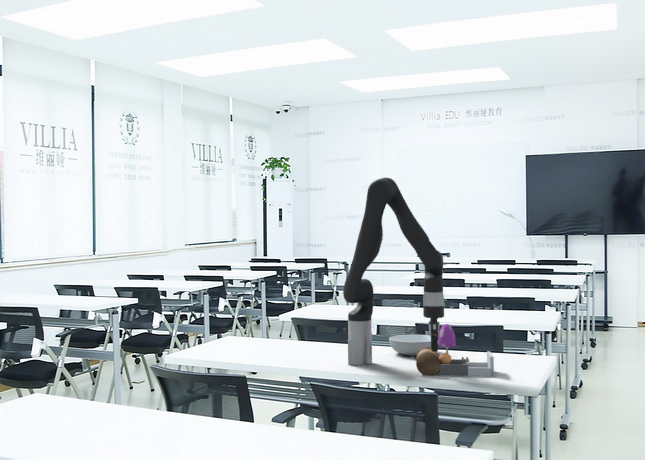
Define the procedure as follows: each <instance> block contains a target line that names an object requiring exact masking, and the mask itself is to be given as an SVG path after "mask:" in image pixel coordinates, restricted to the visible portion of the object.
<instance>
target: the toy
mask: <svg viewBox="0 0 645 460" xmlns="http://www.w3.org/2000/svg"><path fill="white" fill-rule="evenodd" d="M438 338H439V339H438V347H442V348H445V353H448V354H449V348H454V347H455V346H456V334H455V331H454V329H453V326H451V324H449V323H444V324H442V326H441V327H440V328H439V335H438Z"/></svg>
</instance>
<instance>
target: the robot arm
mask: <svg viewBox="0 0 645 460" xmlns="http://www.w3.org/2000/svg"><path fill="white" fill-rule="evenodd" d="M387 205H388V207H389V208H390V209H391V211H392V212H393V213H394V216H395V217H396V220H397V223H398V225H399V228H400V230H401V232H402V234H403V236H404V237H405V239H406V240H407V242H408V243H409V244H410V246H411V247H412V248H413V250H414V251H415V253H416V255H417V256H418V259H419V260H420V261H421V263H422V264H423V266H424V278H423V297H422V298H423V299H422V304H423V305H422V307H423V309H422V310H423V313H422V315H423V317H424V318H427V319H429V321H428V322H427V323H428V333H429V336H430V337H431V348H432V352H437V353H438V352H439V344H438V339H439V332H440V328H441V327H440V321H438V320H439V319H441V318H444V317H445V296H444V280H443V273H444V257H443V254H442V253H441V251H439V250H437V249H436V247H435V246H434V245H433V243H432V242H431V240H430V238H429V235H428V234H427V233H426V231H425V230H424V229H423V227H422V226H421V224H420V223H419V221H418V220H417V218H416V217H415V215H414V214H413V212H412V211H411V209H410V207H409V206H408V204H407V202H406V200H405V198H404V196H403V195H402V192H401V189H400V188H399V186H398V184H397V183H396V181H395V180H394V179H392V178H390V177H381V178H378V179H374V180H372V182H371V183H370V184H369V186H368V188H367V195H366V201H365V208H364V213H363V218H362V222H361V225H360V229H359V232H358V236H357V239H356V244H355V245H356V246H355V250H354V253H353V258H352V260H351V263H350V268H349V270H348V274H347V276H346V278H345V281H344V285H343V291H342V295H343V299H344V300H345V302H346V303H348V304H357V305H356V307H355V308H354V309H352V310H350V311H349V312H348V315H347V316H348V317H347V325H348V326H347V329H348V331H347V335H348V339H347V364H348V365H351V366H369V365H372V364H373V341H372V340H373V334H372V331H373V329H372V328H373V327H372V326H373V325H372V324H373V323H372V315H373V313H374V285H373V283H372V282H371V281H370V280H369V279H368V278H363V276H364V274H365V272H366V270H367V269H368V268H369V266H370V265H372V263H373V262H374V261H375V260H376V258H377V256H378V255H379V253H380V249H381V247H382V243H383V237H384V230H383V215H384V212H385V209H386V206H387Z"/></svg>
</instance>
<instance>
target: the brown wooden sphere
mask: <svg viewBox="0 0 645 460" xmlns="http://www.w3.org/2000/svg"><path fill="white" fill-rule="evenodd" d="M439 356H440V355H439V354H438V351H437V352H432V348H430V347H424V348H422V349H420V350H419V351H418V353H417V355H416V356H415V365H416V369H417V371H418V372H419V373H420V374H421V375H423V376H427V377H429V376H434V375H436V374H437V373H438V372H439V367H440V361H439Z"/></svg>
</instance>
